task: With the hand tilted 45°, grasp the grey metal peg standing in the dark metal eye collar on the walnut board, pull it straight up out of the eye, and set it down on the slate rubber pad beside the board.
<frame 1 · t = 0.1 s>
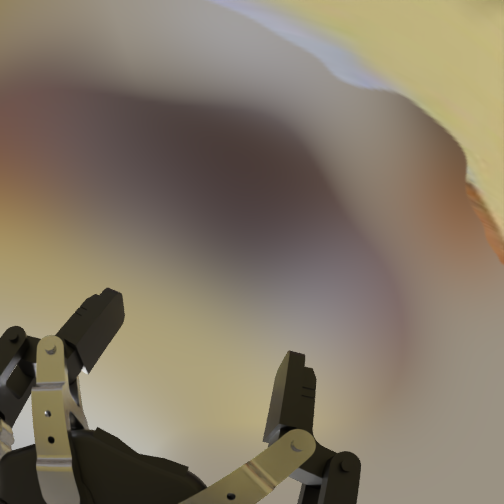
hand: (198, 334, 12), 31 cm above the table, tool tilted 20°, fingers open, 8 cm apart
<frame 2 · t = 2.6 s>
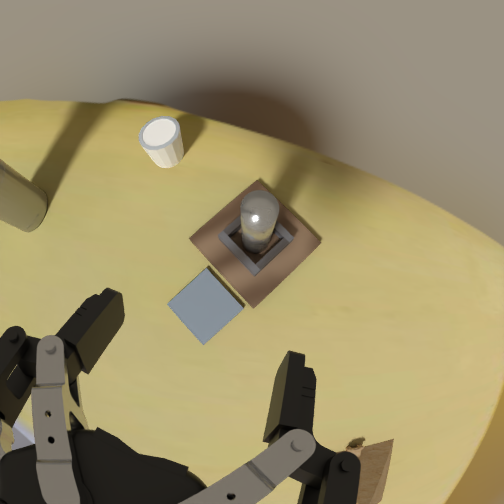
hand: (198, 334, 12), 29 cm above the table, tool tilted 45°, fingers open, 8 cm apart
pad: (205, 306, 40), on the table
model pyramid: (347, 480, 34), on the table
shot glass: (168, 155, 46), on the table
peg: (255, 240, 41), point 1 cm above the table, touching eye board
eye board: (255, 242, 43), on the table
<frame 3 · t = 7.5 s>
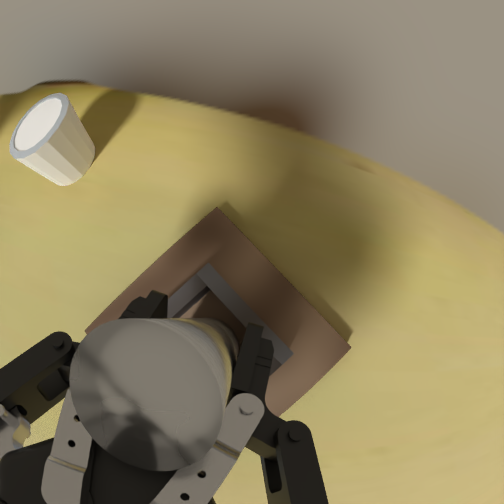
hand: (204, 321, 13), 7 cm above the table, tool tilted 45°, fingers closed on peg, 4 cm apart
shot glass: (73, 161, 23), on the table
peg: (209, 346, 18), point 1 cm above the table, touching eye board, gripper
eye board: (211, 344, 19), on the table
when the fingers open (7 cm above the table, at t = 13.7 s): peg stays where it is, resting on pad.
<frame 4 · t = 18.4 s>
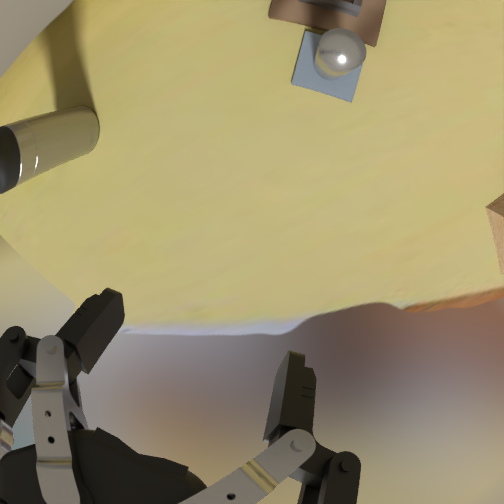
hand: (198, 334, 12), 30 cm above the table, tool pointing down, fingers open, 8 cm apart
pad: (329, 65, 29), on the table
peg: (329, 66, 28), point 1 cm above the table, touching pad
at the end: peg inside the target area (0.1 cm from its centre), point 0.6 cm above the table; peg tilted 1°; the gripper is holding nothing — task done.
